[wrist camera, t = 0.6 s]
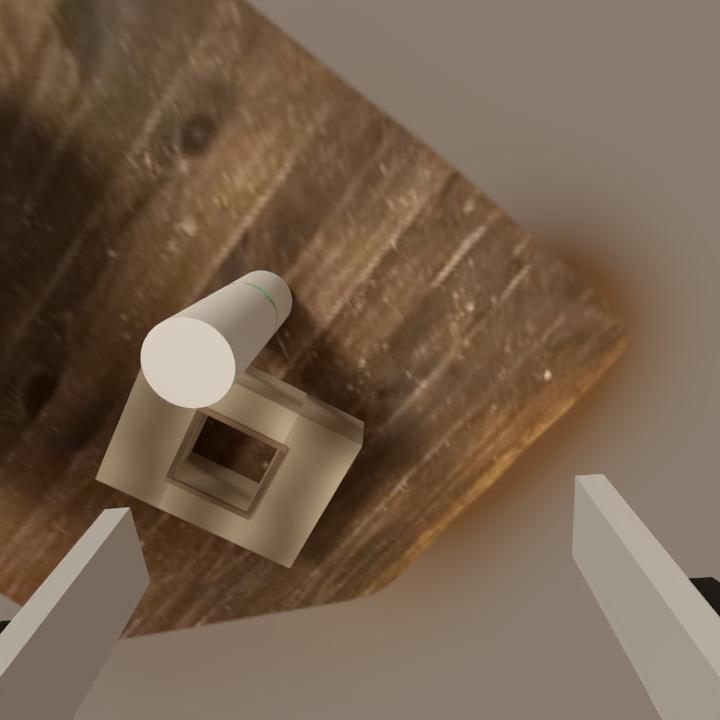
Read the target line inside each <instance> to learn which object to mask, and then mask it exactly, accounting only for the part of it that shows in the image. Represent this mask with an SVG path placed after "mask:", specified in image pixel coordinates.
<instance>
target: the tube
mask: <svg viewBox="0 0 720 720" xmlns="http://www.w3.org/2000/svg"><path fill="white" fill-rule="evenodd" d="M291 308H292V295H291V292H290V289H289V287H288V286H287V284H286V283H285V281H284V280H283V279H282V278H280V277H279V276H278V275H276V274H274V273H272V272H268V271H254V272H251V273H249V274H247V275H245V276H243V277H241V278H240V279H238V280H236V281H234V282H233V283H231V284H229V285H227V286H226V287H224V288H222V289H220V290H218V291H216V292H215V293H213V294H211V295H209V296H208V297H206V298H204V299H202V300H200V301H199V302H197V303H195V304H193V305H192V306H190V307H188V308H186V309H184V310H183V311H181V312H179V313H177V314H175V315H174V316H172V317H170V318H168V319H167V320H165V321H163V322H161V323H160V324H158V325H157V326H155V327H154V328H153V329H152V330H151V331H150V332H149V333H148V335H147V337H146V338H145V340H144V342H143V346H142V349H141V366H142V370H143V373H144V376H145V378H146V380H147V382H148V383H149V385H150V386H151V387H152V389H153V390H154V391H155V392H156V393H157V394H158V395H159V396H161V397H162V398H163V399H165V400H167V401H168V402H170V403H172V404H175V405H177V406H181V407H185V408H201V407H206V406H209V405H212V404H214V403H215V402H217V401H219V400H220V399H221V398H222V397H223V396H224V395H226V393H227V392H228V391H229V390H230V388H231V387H232V386H233V385H234V383H235V382H236V381H237V380H238V378H239V377H240V376H241V375H242V373H243V372H244V371H245V370H246V368H247V367H248V366H249V365H250V363H251V362H252V361H253V360H254V359H255V357H256V356H257V355H258V354H259V352H260V351H261V350H262V349H263V347H264V346H265V345H266V344H267V342H268V341H269V340H270V339H271V337H272V336H273V335H274V334H275V332H276V331H277V330H278V329H279V327H280V326H281V325H282V324H283V322H284V321H285V320H286V318H287V317H288V316H289V314H290V311H291Z"/></svg>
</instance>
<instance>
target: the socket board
mask: <svg viewBox="0 0 720 720" xmlns="http://www.w3.org/2000/svg"><path fill="white" fill-rule="evenodd" d="M208 416H211V417H213V418H215V419H217V420H219V421H221V422H223V423H225V424H227V425H229V426H231V427H233V428H235V429H237V430H239V431H242V432H244V433H246V434H248V435H250V436H252V437H254V438H256V439H258V440H260V441H262V442H264V443H266V444H268V445H270V446H272V447H274V448H277V450H276V452H275V454H274V456H273V458H272V460H271V462H270V463H269V465H268V467H267V469H266V471H265V473H264V475H263V477H262V478H261V480H260V482H259V483H258V482H255V481H253V480H251V479H249V478H247V477H245V476H243V475H241V474H239V473H236V472H234V471H232V470H230V469H228V468H226V467H224V466H222V465H220V464H218V463H215V462H213V461H211V460H209V459H207V458H205V457H203V456H201V455H199V454H197V453H194V452H192V450H193V447H194V445H195V443H196V441H197V439H198V437H199V435H200V433H201V431H202V428H203V426H204V424H205V422H206V420H207V418H208ZM363 431H364V422H363V421H361V420H359V419H357V418H355V417H353V416H351V415H349V414H347V413H345V412H343V411H341V410H339V409H337V408H335V407H333V406H331V405H329V404H327V403H325V402H323V401H321V400H319V399H317V398H315V397H313V396H311V395H309V394H307V393H305V392H303V391H301V390H299V389H297V388H295V387H293V386H291V385H289V384H287V383H285V382H283V381H281V380H279V379H277V378H275V377H273V376H271V375H269V374H267V373H265V372H263V371H261V370H259V369H257V368H255V367H253V366H251V365H249V366H248V367H247V368H246V370H245V371H244V372H243V373H242V375H241V376H240V377H239V378H238V380H237V381H236V382H235V383H234V385H233V386H232V387H231V388H230V390H229V391H228V392H227V393H226V395H224V396H223V397H222V398H221V399H220V400H219V401H217V402H215V403H214V404H212V405H209V406H206V407H201V408H185V407H181V406H177V405H175V404H172V403H170V402H168V401H167V400H165V399H163V398H162V397H161V396H159V395H158V394H157V393H156V392H155V391H154V390H153V389H152V387H151V386H150V385H149V383H148V382H147V380H146V378H145V376H144V373H143V370H142V366H141V369H140V371H139V374H138V376H137V379H136V381H135V383H134V386H133V388H132V391H131V393H130V396H129V398H128V400H127V403H126V405H125V408H124V410H123V413H122V415H121V417H120V420H119V422H118V425H117V427H116V430H115V432H114V435H113V437H112V439H111V442H110V444H109V447H108V449H107V452H106V454H105V456H104V459H103V461H102V464H101V466H100V469H99V471H98V473H97V476H96V478H95V479H96V480H98V481H100V482H102V483H105V484H107V485H109V486H111V487H113V488H116V489H118V490H120V491H122V492H124V493H126V494H129V495H131V496H133V497H135V498H137V499H139V500H142V501H144V502H146V503H148V504H150V505H152V506H155V507H157V508H159V509H161V510H163V511H166V512H168V513H170V514H172V515H174V516H176V517H179V518H181V519H183V520H185V521H187V522H189V523H192V524H194V525H196V526H198V527H200V528H203V529H205V530H207V531H209V532H211V533H213V534H216V535H218V536H220V537H222V538H224V539H226V540H229V541H231V542H233V543H235V544H237V545H240V546H242V547H244V548H246V549H248V550H250V551H253V552H255V553H257V554H259V555H261V556H263V557H266V558H268V559H270V560H272V561H274V562H277V563H279V564H281V565H283V566H285V567H287V568H290V567H291V565H292V564H293V562H294V560H295V559H296V557H297V555H298V554H299V552H300V550H301V549H302V547H303V545H304V543H305V542H306V540H307V538H308V537H309V535H310V533H311V532H312V530H313V528H314V527H315V525H316V523H317V522H318V520H319V518H320V516H321V515H322V513H323V511H324V510H325V508H326V506H327V505H328V503H329V501H330V500H331V498H332V496H333V495H334V493H335V491H336V489H337V488H338V486H339V484H340V483H341V481H342V479H343V478H344V476H345V474H346V473H347V471H348V469H349V468H350V466H351V464H352V462H353V461H354V459H355V457H356V456H357V454H358V452H359V451H360V449H361V447H362V443H363Z"/></svg>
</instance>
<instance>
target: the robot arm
mask: <svg viewBox="0 0 720 720" xmlns="http://www.w3.org/2000/svg"><path fill="white" fill-rule="evenodd" d="M575 479H576V480H575V501H574V525H573V548H572V551H573V552H572V556H573V558H574V560H575V562H576V563H577V565H578V567H579V569H580V571H581V572H582V574H583V576H584V578H585V580H586V582H587V583H588V585H589V587H590V589H591V590H592V592H593V594H594V596H595V598H596V600H597V602H598V603H599V605H600V607H601V609H602V611H603V612H604V614H605V616H606V618H607V620H608V622H609V623H610V625H611V627H612V629H613V631H614V632H615V634H616V636H617V638H618V640H619V641H620V643H621V645H622V647H623V648H624V650H625V652H626V654H627V656H628V658H629V660H630V662H631V663H632V665H633V667H634V669H635V671H636V672H637V674H638V676H639V678H640V679H641V682H642V683H643V685H644V687H645V689H646V691H647V692H648V694H649V696H650V698H651V700H652V701H653V703H654V705H655V707H656V709H657V710H658V712H659V714H660V716H661V718H662V720H720V582H718V581H717V580H715V579H714V578H712V577H706V578H691V579H690V578H689V579H688V578H687V577H686V575H685V574H684V573H683V572H682V570H681V569H680V568H679V567H678V566H677V564H676V563H675V562H674V561H673V560H672V558H671V557H670V556H669V555H668V553H667V552H666V551H665V550H664V548H663V547H662V546H661V545H660V543H659V542H658V541H657V540H656V539H655V537H654V536H653V535H652V534H651V533H650V531H649V530H648V529H647V528H646V526H645V525H644V524H643V523H642V521H641V520H640V519H639V518H638V517H637V515H636V514H635V513H634V512H633V510H632V509H631V508H630V507H629V506H628V504H627V503H626V502H625V501H624V500H623V498H622V497H621V496H620V495H619V493H618V492H617V491H616V490H615V488H614V487H613V486H612V485H611V484H610V482H609V481H608V480H607V479H606V478H605V476H604V475H603V474H598V475H584V476H576V478H575ZM149 584H150V579H149V575H148V571H147V568H146V564H145V561H144V557H143V553H142V550H141V546H140V542H139V539H138V535H137V532H136V528H135V524H134V521H133V517H132V513H131V510H130V507H129V508H115V509H105V510H104V511H103V512H102V513H101V515H100V516H99V517H98V518H97V519H96V521H95V522H94V523H93V524H92V525H91V527H90V528H89V529H88V530H87V531H86V533H85V534H84V535H83V536H82V537H81V538H80V540H79V541H78V542H77V543H76V544H75V546H74V547H73V548H72V549H71V550H70V552H69V553H68V554H67V555H66V556H65V558H64V559H63V560H62V561H61V562H60V564H59V565H58V566H57V567H56V568H55V569H54V571H53V572H52V573H51V574H50V575H49V577H48V578H47V579H46V580H45V581H44V583H43V584H42V585H41V586H40V587H39V589H38V590H37V591H36V592H35V593H34V594H33V596H32V597H31V598H30V599H29V600H28V602H27V603H26V604H25V605H24V606H23V608H22V609H21V610H20V611H19V612H18V614H17V615H16V616H15V617H14V618H13V620H10V621H1V622H0V720H73V718H74V716H75V714H76V712H77V711H78V709H79V707H80V705H81V704H82V702H83V700H84V698H85V697H86V695H87V693H88V691H89V689H90V688H91V686H92V684H93V682H94V681H95V679H96V677H97V675H98V673H99V672H100V670H101V668H102V667H103V665H104V663H105V661H106V659H107V658H108V656H109V654H110V652H111V651H112V649H113V647H114V645H115V644H116V642H117V640H118V638H119V637H120V635H121V633H122V631H123V630H124V628H125V626H126V624H127V622H128V621H129V619H130V617H131V615H132V614H133V612H134V610H135V608H136V607H137V605H138V603H139V601H140V600H141V598H142V596H143V594H144V592H145V591H146V589H147V587H148V585H149Z"/></svg>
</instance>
